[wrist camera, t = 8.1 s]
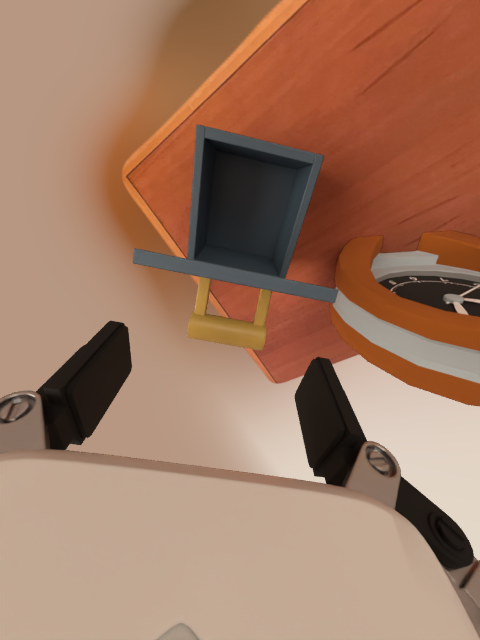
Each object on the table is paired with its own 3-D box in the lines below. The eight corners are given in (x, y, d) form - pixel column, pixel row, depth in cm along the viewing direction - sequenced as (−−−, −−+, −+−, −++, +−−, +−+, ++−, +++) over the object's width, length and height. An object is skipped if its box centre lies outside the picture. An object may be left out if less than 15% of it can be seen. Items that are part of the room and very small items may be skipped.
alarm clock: (487, 228, 30) (920, 302, 11) (456, 293, 35) (710, 424, 16) (323, 239, 32) (441, 322, 12) (316, 300, 37) (390, 427, 17)
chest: (211, 142, 26) (196, 123, 19) (303, 164, 27) (324, 155, 20) (201, 247, 33) (186, 265, 25) (275, 262, 34) (283, 284, 26)
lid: (133, 248, 12) (125, 336, 13) (339, 289, 12) (316, 370, 13) (186, 262, 25) (180, 305, 26) (284, 282, 26) (275, 323, 27)
